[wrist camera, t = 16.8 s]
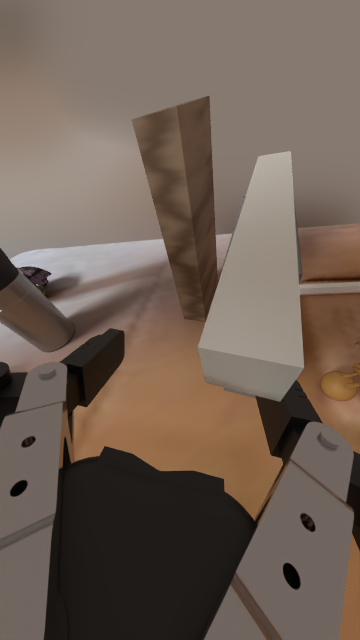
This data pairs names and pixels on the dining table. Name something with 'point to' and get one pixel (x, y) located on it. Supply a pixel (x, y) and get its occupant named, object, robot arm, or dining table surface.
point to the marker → (329, 288)
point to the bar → (258, 293)
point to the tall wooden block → (183, 197)
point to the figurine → (341, 384)
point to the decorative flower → (36, 276)
